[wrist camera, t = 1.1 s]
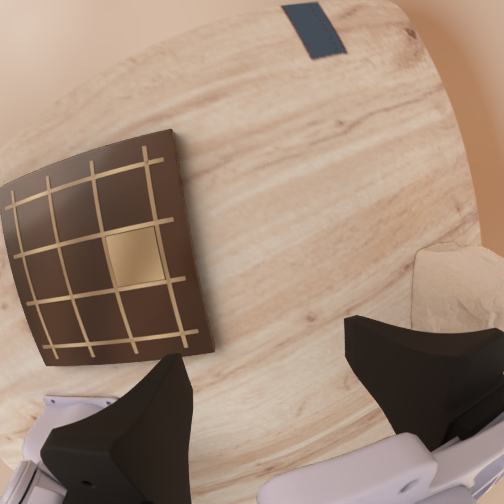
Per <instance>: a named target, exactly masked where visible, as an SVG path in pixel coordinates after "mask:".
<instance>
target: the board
mask: <svg viewBox="0 0 504 504" xmlns="http://www.w3.org/2000/svg"><path fill="white" fill-rule="evenodd" d="M0 214H1V221H2V227H3V233H4V238H5V244H6V248H7V253H8V258H9V262H10V266H11V270H12V274H13V278H14V281H15V285H16V288H17V292H18V295H19V298H20V301H21V304H22V307H23V310H24V313H25V316H26V319H27V322H28V324H29V327H30V330H31V332H32V335H33V337H34V340H35V342H36V345H37V347H38V349H39V352H40V354H41V356H42V358H43V361H44V363H45V365H46V366H80V365H102V364H117V363H130V362H141V361H151V360H160V359H163V358H164V357H165V356H166V355H167V354H174V353H181V356H182V357H184V356H192V355H199V354H205V353H212V352H215V344H214V340H213V336H212V332H211V327H210V323H209V319H208V315H207V310H206V306H205V302H204V297H203V293H202V288H201V284H200V279H199V274H198V269H197V265H196V260H195V255H194V250H193V245H192V239H191V234H190V229H189V223H188V218H187V212H186V207H185V201H184V195H183V189H182V183H181V177H180V170H179V164H178V157H177V150H176V143H175V136H174V132H173V130H172V129H168V130H164V131H159V132H155V133H151V134H147V135H142V136H139V137H135V138H131V139H127V140H124V141H120V142H116V143H113V144H110V145H106V146H103V147H100V148H97V149H93V150H90V151H87V152H84V153H81V154H78V155H76V156H73V157H70V158H67V159H64V160H62V161H59V162H56V163H54V164H51V165H49V166H46V167H44V168H41V169H39V170H36V171H34V172H32V173H29V174H27V175H25V176H22V177H20V178H18V179H16V180H14V181H11V182H9V183H7V184H5V185H3V186H1V187H0Z"/></svg>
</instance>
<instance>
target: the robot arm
mask: <svg viewBox="0 0 504 504" xmlns="http://www.w3.org/2000/svg"><path fill="white" fill-rule="evenodd" d="M344 329H345V357H346V359H347V361H348V363H349V365H350V367H351V368H352V370H353V372H354V373H355V375H356V376H357V377H358V379H359V380H360V381H361V383H362V384H363V385H364V386H365V388H366V389H367V390H368V392H369V393H370V394H371V395H372V397H373V398H374V399H375V400H376V402H377V403H378V404H379V406H380V407H381V409H382V410H383V412H384V414H385V415H386V417H387V419H388V420H389V422H390V424H391V426H392V428H393V430H394V432H395V433H396V435H394V436H390V437H387V438H385V439H382V440H380V441H378V442H375V443H373V444H370V445H368V446H365V447H363V448H360V449H357V450H354V451H352V452H349V453H346V454H343V455H340V456H337V457H334V458H331V459H328V460H324V461H321V462H318V463H314V464H310V465H307V466H303V467H299V468H295V469H292V470H290V471H287V472H284V473H281V474H278V475H276V476H274V477H273V478H271V479H270V480H269V481H267V482H266V483H264V484H263V485H262V486H261V487H259V489H258V493H257V497H256V499H257V504H478V502H477V500H478V499H480V498H481V497H482V496H483V495H484V494H485V493H486V492H488V491H489V490H490V489H491V488H492V487H493V486H494V485H495V484H496V483H497V482H499V481H500V480H501V478H503V477H504V374H503V372H504V332H503V331H502V330H500V329H498V328H490V329H485V330H480V331H474V332H465V333H431V332H423V331H416V330H411V329H406V328H401V327H397V326H394V325H390V324H386V323H383V322H380V321H376V320H373V319H370V318H366V317H362V316H358V315H356V316H352V317H348V318H345V319H344ZM43 400H44V402H45V404H46V406H45V408H44V409H43V411H42V412H41V414H40V415H39V417H38V418H37V420H36V421H35V423H34V424H33V426H32V427H31V429H30V430H29V432H28V433H27V435H26V437H25V439H24V442H23V447H22V455H23V461H21V462H20V464H19V465H18V467H17V468H16V470H15V472H14V473H13V475H12V477H11V478H10V480H9V482H8V484H7V486H6V488H5V490H4V492H3V494H2V496H1V498H0V504H191V495H190V483H189V464H188V450H189V440H190V431H191V423H192V415H193V389H192V386H191V383H190V380H189V377H188V374H187V371H186V369H185V366H184V362H183V359H182V356H181V353H174V354H167V355H166V356H165V357H164V358H163V359H162V360H161V361H160V362H159V363H158V364H157V365H156V366H155V367H154V368H153V369H152V370H151V371H150V372H149V373H148V374H147V375H146V376H145V377H144V378H143V379H142V380H141V381H140V382H139V383H138V384H137V385H136V386H135V387H133V388H132V389H131V390H130V391H129V392H128V393H126V394H125V395H124V396H122V397H121V398H120V399H116V398H114V397H62V396H44V397H43ZM109 402H110V403H109Z"/></svg>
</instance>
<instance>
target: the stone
mask: <svg viewBox="0 0 504 504" xmlns="http://www.w3.org/2000/svg"><path fill="white" fill-rule="evenodd" d="M412 289H413V293H412V312H411V322H412V330H416V331H423V332H431V333H465V332H474V331H480V330H485V329H490V328H498V329H500V330H502V331H503V332H504V258H503V257H501V256H499V255H497V254H495V253H494V252H492V251H491V250H489V249H487V248H484V247H482V246H476V247H475V246H470V245H465V246H459V245H458V244H457V243H455V242H446V243H442V244H441V243H436V244H435V245H433V246H430V247H426V248H422V249H420V250H419V251H418V252H417V254H416V259H415V265H414V274H413V285H412Z"/></svg>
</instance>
